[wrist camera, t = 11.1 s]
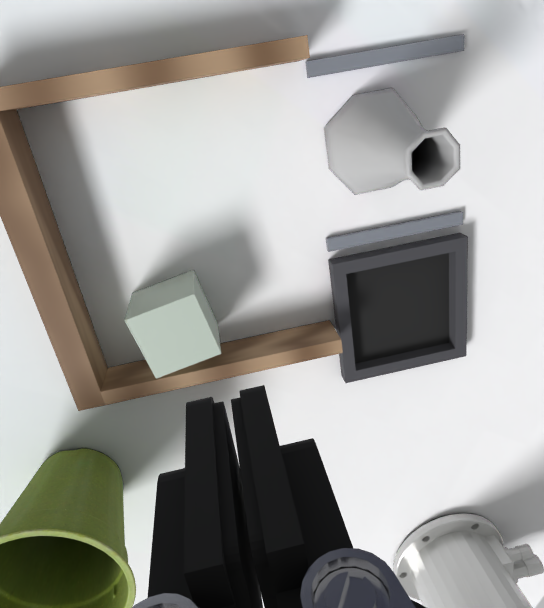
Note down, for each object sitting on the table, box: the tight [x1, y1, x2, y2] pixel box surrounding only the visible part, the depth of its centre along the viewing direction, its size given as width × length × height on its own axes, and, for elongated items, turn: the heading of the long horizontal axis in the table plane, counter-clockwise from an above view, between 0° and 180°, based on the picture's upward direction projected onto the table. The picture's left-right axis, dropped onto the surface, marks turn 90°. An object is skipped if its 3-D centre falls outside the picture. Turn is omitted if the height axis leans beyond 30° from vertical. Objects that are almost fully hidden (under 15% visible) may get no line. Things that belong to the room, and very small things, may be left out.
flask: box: [324, 88, 460, 195], centre depth 31 cm, size 7×7×10 cm
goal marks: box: [306, 34, 464, 252], centre depth 35 cm, size 11×13×1 cm
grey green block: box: [124, 270, 221, 379], centre depth 36 cm, size 5×5×5 cm
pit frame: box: [328, 233, 468, 383], centre depth 40 cm, size 11×11×1 cm
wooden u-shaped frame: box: [0, 35, 343, 411], centre depth 34 cm, size 20×22×4 cm
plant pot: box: [0, 448, 136, 608], centre depth 38 cm, size 12×12×11 cm
